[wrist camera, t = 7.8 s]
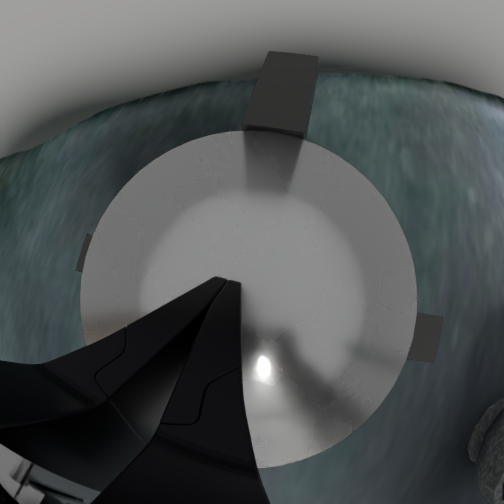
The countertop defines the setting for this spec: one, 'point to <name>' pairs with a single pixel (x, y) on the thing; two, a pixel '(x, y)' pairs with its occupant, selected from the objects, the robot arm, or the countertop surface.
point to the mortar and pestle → (489, 453)
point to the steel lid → (269, 264)
